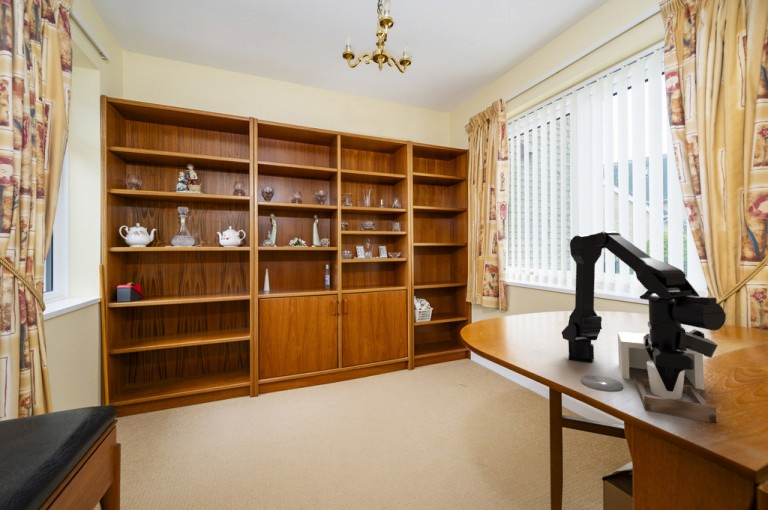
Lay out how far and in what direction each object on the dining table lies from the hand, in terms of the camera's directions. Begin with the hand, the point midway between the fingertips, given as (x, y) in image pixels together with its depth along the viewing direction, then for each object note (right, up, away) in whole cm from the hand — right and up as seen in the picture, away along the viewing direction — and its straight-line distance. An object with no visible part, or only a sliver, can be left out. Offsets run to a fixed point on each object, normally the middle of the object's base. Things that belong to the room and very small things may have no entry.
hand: (666, 385), depth 76 cm
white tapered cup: (0, -2, 0) cm, 2 cm away
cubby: (+7, -2, +11) cm, 14 cm away
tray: (-1, -2, -2) cm, 3 cm away
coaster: (-11, -3, +7) cm, 13 cm away
